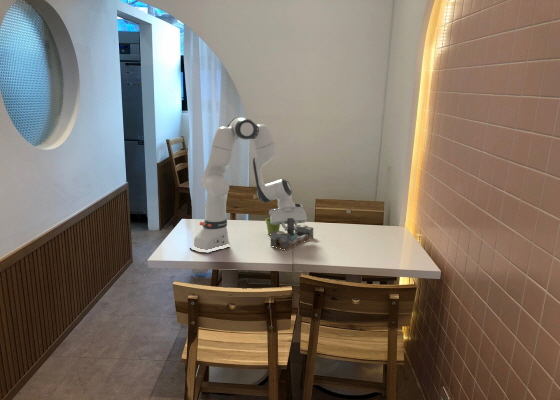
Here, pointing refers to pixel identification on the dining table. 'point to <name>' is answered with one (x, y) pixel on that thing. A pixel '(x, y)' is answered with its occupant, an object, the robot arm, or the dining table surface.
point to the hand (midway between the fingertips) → (290, 229)
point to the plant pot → (271, 226)
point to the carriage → (291, 229)
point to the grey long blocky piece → (302, 235)
